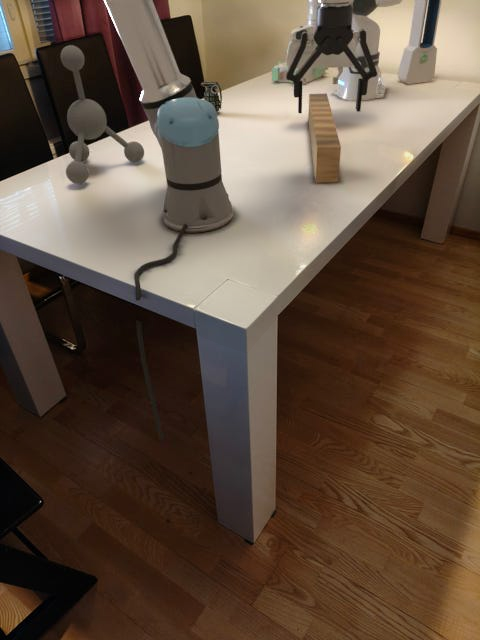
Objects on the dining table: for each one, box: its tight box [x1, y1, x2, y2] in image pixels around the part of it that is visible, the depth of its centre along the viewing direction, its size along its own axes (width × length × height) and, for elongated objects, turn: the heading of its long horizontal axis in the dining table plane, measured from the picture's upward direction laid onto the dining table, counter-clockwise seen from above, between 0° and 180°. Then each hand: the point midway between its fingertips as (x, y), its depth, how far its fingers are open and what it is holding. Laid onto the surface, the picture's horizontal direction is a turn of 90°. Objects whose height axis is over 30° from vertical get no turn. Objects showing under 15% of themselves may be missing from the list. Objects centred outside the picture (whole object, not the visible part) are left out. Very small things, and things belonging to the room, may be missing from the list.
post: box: [307, 92, 342, 184], centre depth 136 cm, size 50×6×9 cm, turn 176°
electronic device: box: [397, 0, 442, 85], centre depth 186 cm, size 12×8×30 cm, turn 105°
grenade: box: [200, 81, 223, 113], centre depth 169 cm, size 7×6×10 cm
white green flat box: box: [271, 61, 329, 84], centre depth 207 cm, size 26×6×20 cm
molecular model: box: [60, 44, 145, 185], centre depth 125 cm, size 24×22×30 cm
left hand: (328, 111), depth 115 cm, fingers open, 13 cm apart
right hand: (319, 84), depth 146 cm, fingers open, 8 cm apart
